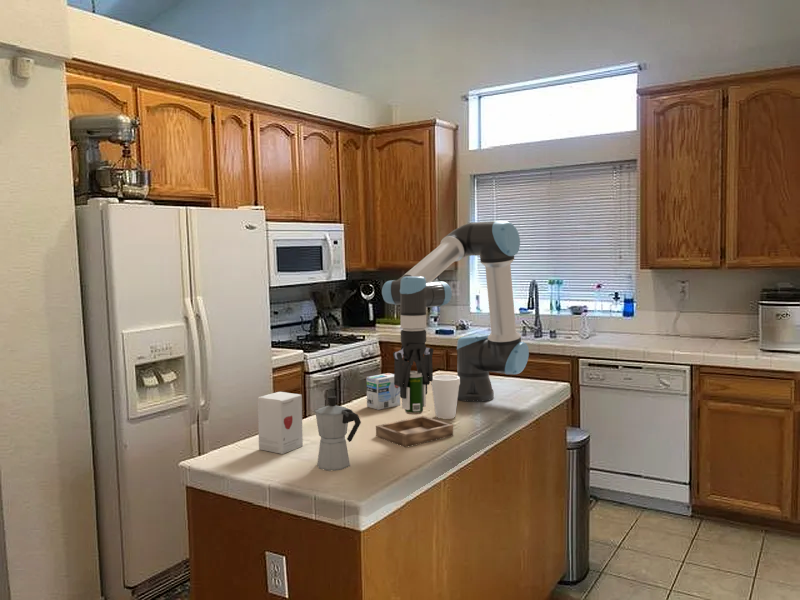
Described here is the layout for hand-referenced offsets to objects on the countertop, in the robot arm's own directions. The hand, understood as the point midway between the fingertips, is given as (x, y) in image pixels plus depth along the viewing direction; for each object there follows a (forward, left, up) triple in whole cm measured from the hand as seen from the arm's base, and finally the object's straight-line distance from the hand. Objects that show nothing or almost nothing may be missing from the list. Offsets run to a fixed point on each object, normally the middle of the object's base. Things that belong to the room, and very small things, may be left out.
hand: (414, 407), depth 194 cm
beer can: (0, 0, -2) cm, 2 cm away
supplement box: (+36, -15, -9) cm, 40 cm away
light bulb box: (-15, -36, -9) cm, 40 cm away
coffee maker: (+32, +8, -9) cm, 34 cm away
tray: (0, 0, -9) cm, 9 cm away
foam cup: (-22, -11, -9) cm, 26 cm away
